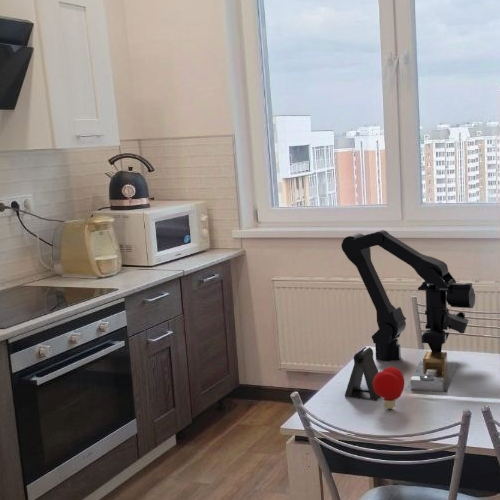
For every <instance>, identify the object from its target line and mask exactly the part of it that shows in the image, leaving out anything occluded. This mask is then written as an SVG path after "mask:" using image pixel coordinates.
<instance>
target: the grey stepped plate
mask: <svg viewBox="0 0 500 500" xmlns="http://www.w3.org/2000/svg"><path fill="white" fill-rule="evenodd" d="M457 365H458V362H448V361H447V368H446V371H445V373H444V374H442V367H431V366H429V367H428V369H427V371H426V373H423V360H420V361H419V362H418V365H417V367H416V369H415V370H414V373H413V374H412V376H411V378H410V381H409V383H408V384H407V387H406V388H405V391H417V392H418V391H419V392H429V393H430V392H433V393H434V394H433V393H432V395H436V393H448V391H449V388H450V385H451V383H452V380H453V376H454V374H455V371H456V369H457ZM417 394H419V395H420V393H417Z"/></svg>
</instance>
